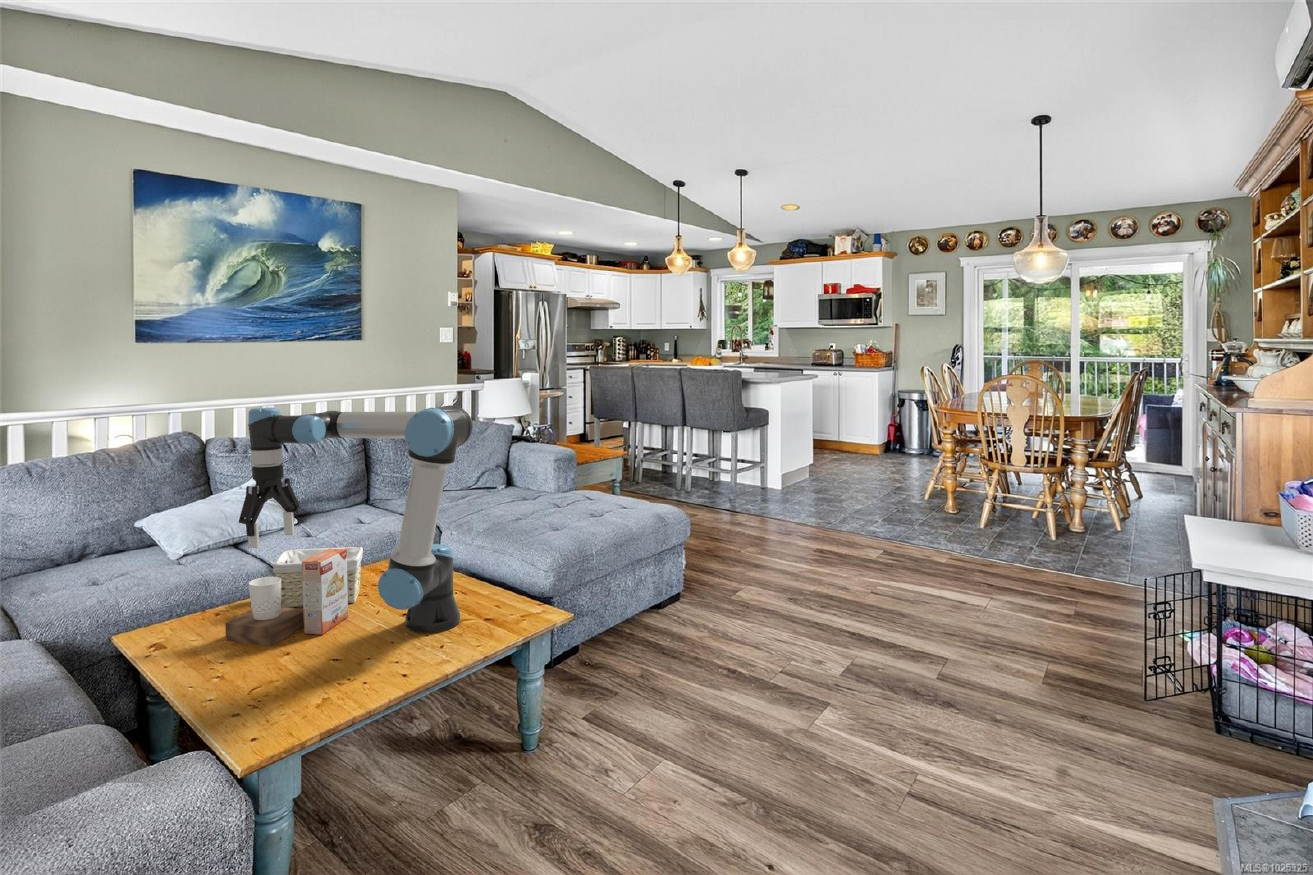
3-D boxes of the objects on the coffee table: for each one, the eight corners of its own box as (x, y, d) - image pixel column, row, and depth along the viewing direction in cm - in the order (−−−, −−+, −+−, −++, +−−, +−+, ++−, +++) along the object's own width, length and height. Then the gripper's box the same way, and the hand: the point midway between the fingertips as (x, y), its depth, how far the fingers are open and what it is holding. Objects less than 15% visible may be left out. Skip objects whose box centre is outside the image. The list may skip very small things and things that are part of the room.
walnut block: (307, 626, 203) (306, 609, 202) (271, 646, 189) (270, 628, 189) (264, 622, 206) (263, 605, 205) (226, 641, 192) (225, 623, 191)
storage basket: (365, 588, 236) (363, 544, 234) (359, 605, 221) (357, 558, 219) (285, 594, 229) (283, 549, 228) (273, 611, 214) (271, 564, 212)
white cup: (250, 623, 192) (247, 587, 190) (251, 613, 198) (249, 578, 197) (283, 618, 195) (281, 583, 194) (283, 609, 202) (281, 575, 201)
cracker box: (324, 635, 196) (320, 562, 194) (303, 634, 197) (299, 561, 194) (350, 617, 210) (347, 548, 208) (330, 616, 211) (327, 547, 208)
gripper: (287, 457, 206) (291, 529, 209) (219, 471, 182) (225, 552, 185) (310, 458, 205) (314, 530, 207) (244, 472, 181) (250, 554, 183)
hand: (272, 541), depth 196 cm, fingers open, 13 cm apart
